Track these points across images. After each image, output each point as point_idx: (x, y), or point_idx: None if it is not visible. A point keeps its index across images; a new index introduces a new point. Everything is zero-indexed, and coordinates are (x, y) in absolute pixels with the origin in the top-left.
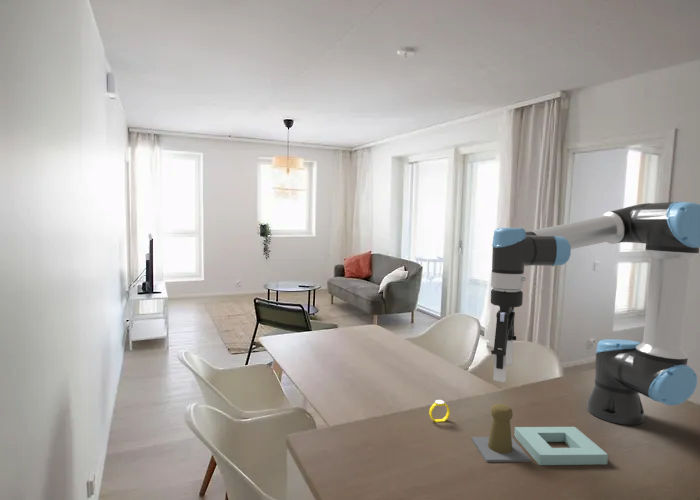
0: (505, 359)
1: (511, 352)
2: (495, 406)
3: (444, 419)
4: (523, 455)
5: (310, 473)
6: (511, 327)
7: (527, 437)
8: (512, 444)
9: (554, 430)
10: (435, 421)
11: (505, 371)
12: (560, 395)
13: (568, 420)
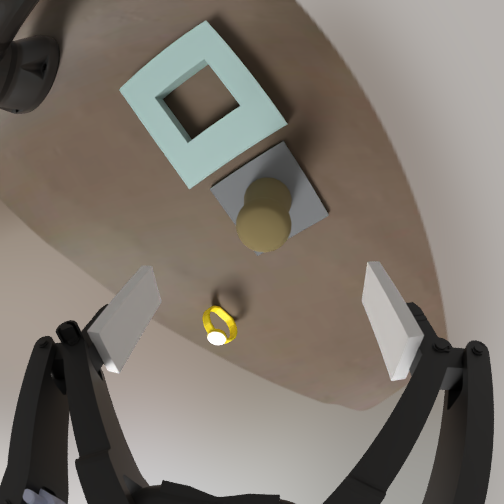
0: (415, 323)
1: (128, 300)
2: (272, 245)
3: (217, 309)
4: (275, 155)
5: None
6: (105, 429)
7: (221, 156)
8: (242, 181)
9: (156, 116)
10: (232, 319)
11: (393, 285)
12: (15, 159)
13: (79, 117)
